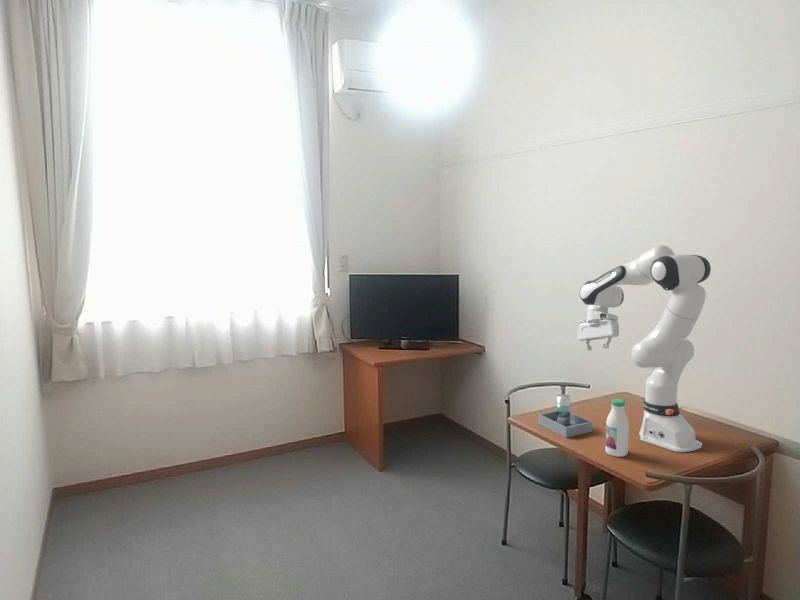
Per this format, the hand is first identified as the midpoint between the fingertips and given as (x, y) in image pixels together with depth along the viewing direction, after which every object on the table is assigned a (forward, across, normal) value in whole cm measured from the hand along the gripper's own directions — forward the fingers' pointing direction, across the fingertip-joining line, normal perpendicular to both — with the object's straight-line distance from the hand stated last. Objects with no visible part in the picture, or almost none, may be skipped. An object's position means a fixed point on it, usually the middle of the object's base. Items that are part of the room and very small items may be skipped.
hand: (597, 349), depth 241 cm
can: (+33, -5, -15) cm, 37 cm away
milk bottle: (+43, +24, -17) cm, 52 cm away
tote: (+35, -3, -16) cm, 38 cm away
